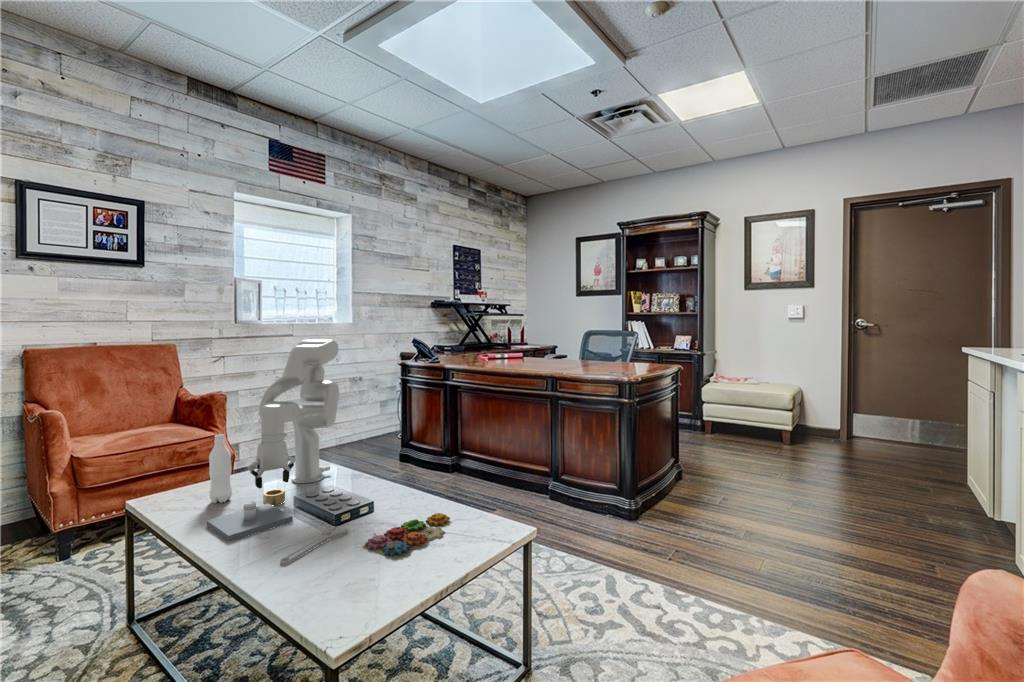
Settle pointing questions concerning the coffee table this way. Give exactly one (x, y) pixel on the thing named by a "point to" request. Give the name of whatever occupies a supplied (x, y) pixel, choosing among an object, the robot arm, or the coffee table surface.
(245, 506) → the stand
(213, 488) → the water bottle
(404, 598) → the coffee table surface
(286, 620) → the coffee table surface
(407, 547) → the gear puzzle
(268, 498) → the bronze ring
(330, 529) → the adjustable wrench
